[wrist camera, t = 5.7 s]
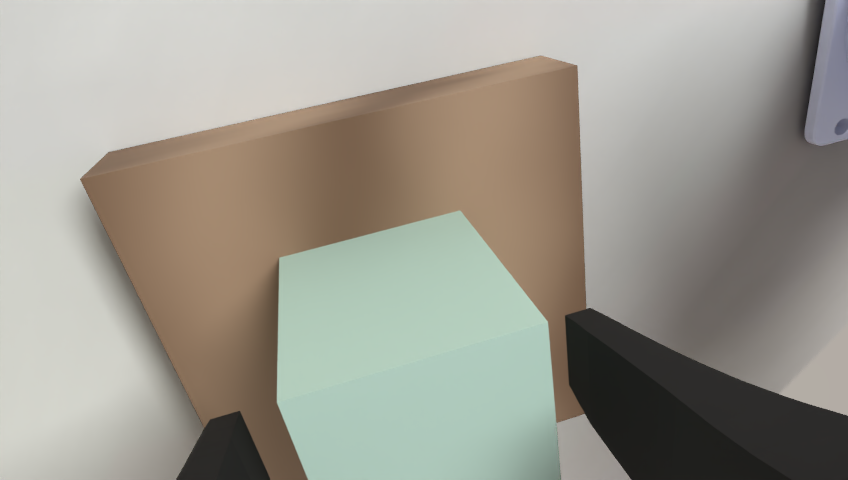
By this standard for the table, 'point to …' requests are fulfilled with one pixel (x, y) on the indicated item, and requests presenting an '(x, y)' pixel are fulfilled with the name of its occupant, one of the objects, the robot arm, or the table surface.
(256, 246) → the walnut base
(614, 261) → the table surface
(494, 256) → the sage block
